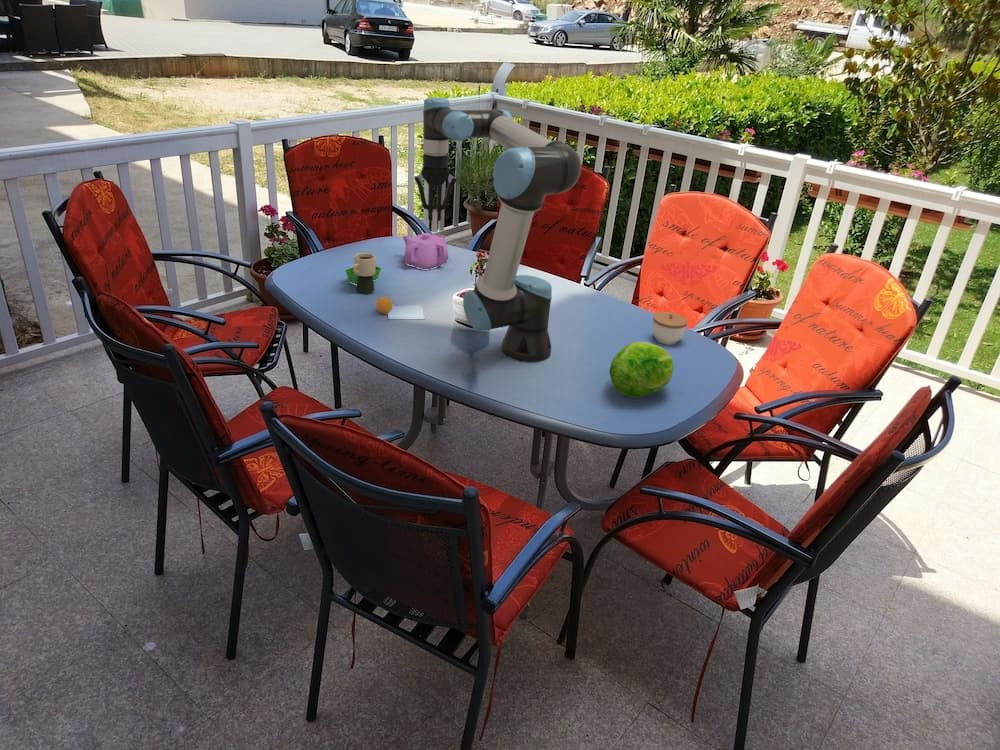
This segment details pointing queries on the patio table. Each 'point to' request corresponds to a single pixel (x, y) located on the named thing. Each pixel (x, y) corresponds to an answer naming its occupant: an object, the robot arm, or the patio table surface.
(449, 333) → the patio table surface
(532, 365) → the patio table surface
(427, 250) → the pink squat rounded shape
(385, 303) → the ball
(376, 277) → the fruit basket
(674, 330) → the lidded jar
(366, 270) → the character mug
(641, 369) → the lettuce
